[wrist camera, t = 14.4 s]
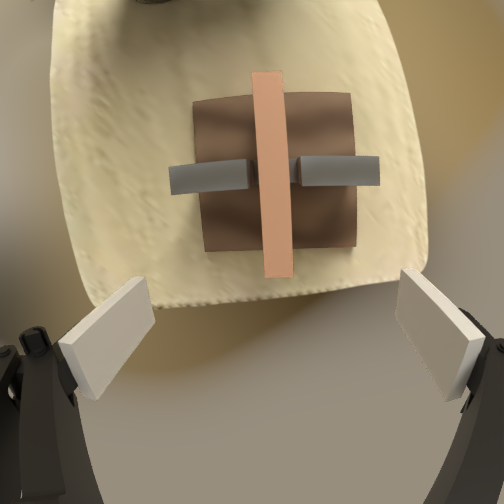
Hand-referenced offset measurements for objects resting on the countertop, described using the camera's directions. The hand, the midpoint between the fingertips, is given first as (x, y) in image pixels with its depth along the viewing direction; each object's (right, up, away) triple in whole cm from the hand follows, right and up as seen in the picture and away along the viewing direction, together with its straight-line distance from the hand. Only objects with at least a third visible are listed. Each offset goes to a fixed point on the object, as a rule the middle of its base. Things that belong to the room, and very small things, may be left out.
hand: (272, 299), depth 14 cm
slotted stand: (+2, +13, +22) cm, 25 cm away
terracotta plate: (+2, +12, +20) cm, 24 cm away
